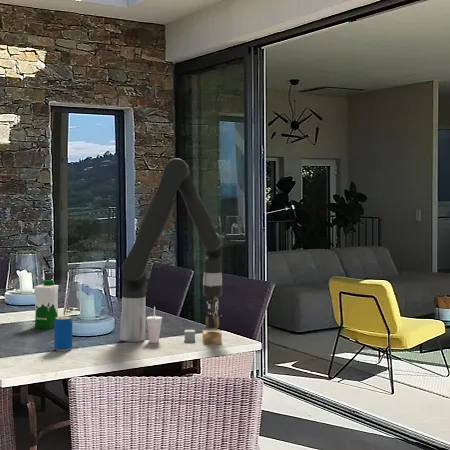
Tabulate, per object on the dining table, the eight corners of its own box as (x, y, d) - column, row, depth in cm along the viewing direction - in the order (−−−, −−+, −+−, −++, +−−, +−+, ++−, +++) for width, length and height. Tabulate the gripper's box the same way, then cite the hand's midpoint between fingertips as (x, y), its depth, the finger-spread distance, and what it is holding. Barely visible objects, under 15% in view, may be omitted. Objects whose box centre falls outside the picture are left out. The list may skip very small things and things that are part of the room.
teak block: (203, 344, 261) (203, 334, 261) (202, 340, 268) (202, 330, 268) (221, 344, 261) (221, 334, 261) (219, 340, 268) (220, 330, 268)
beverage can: (65, 346, 252) (65, 315, 252) (75, 349, 248) (75, 317, 248) (50, 349, 247) (50, 317, 247) (61, 352, 243) (61, 319, 243)
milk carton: (60, 325, 292) (60, 280, 291) (50, 329, 283) (50, 282, 282) (42, 324, 294) (42, 279, 293) (31, 328, 285) (31, 281, 284)
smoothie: (147, 344, 259) (147, 308, 258) (144, 340, 265) (144, 305, 264) (163, 343, 260) (163, 307, 260) (160, 339, 266) (160, 305, 266)
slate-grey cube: (184, 341, 264) (184, 331, 264) (184, 339, 268) (184, 329, 268) (194, 341, 264) (195, 331, 264) (194, 339, 268) (194, 329, 268)
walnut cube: (216, 328, 262) (217, 317, 262) (205, 328, 263) (205, 317, 262) (219, 326, 266) (219, 315, 266) (207, 326, 267) (207, 315, 267)
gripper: (206, 281, 271) (206, 322, 272) (199, 285, 257) (199, 329, 258) (225, 281, 270) (224, 323, 271) (218, 286, 256) (218, 330, 257)
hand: (212, 326), depth 264 cm, fingers closed on walnut cube, 4 cm apart
